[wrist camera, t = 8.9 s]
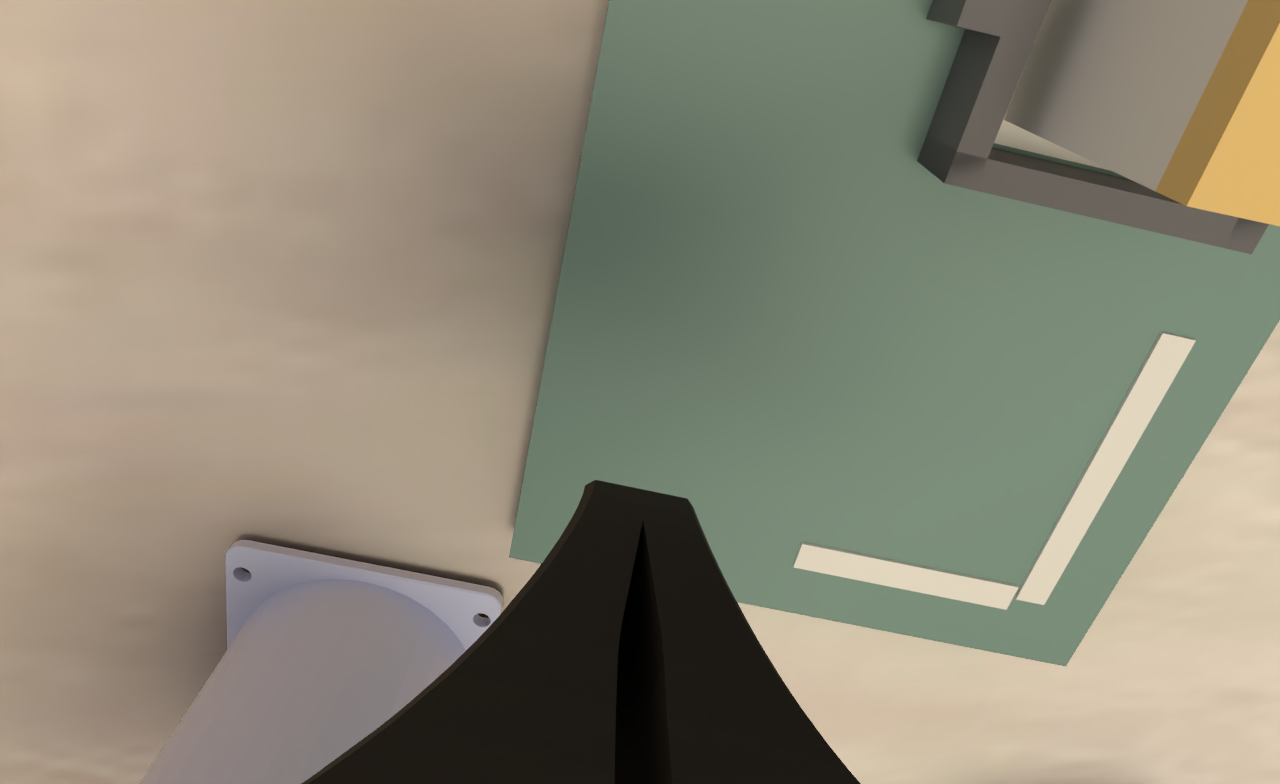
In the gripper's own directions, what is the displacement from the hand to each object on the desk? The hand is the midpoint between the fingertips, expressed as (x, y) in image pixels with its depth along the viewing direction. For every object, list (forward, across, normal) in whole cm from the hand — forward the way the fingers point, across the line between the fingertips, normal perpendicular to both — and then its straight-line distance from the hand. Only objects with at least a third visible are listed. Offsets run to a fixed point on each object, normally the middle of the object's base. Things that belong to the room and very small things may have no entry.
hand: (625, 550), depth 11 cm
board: (+10, -6, -3) cm, 12 cm away
